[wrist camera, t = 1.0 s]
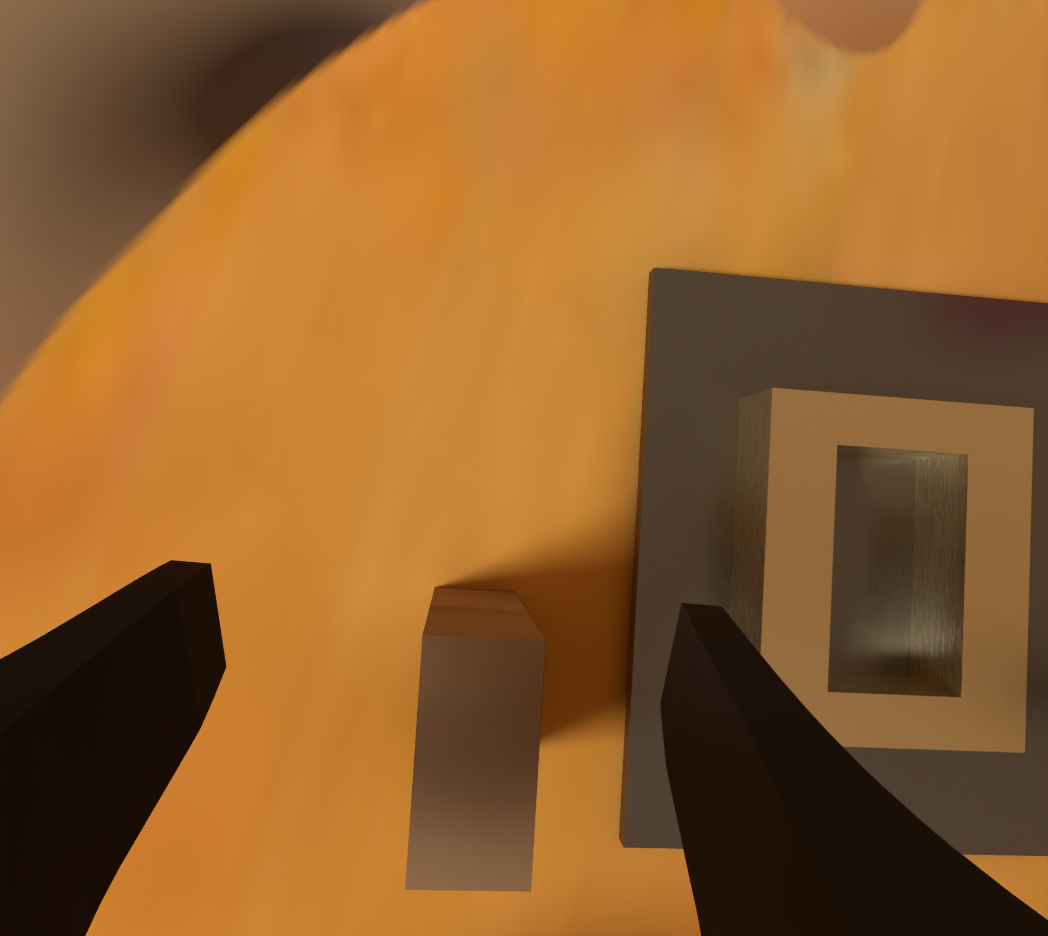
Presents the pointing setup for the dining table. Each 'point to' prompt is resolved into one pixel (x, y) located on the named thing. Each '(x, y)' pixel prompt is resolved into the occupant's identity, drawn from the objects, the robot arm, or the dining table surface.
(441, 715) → the thick wooden plank
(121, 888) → the dining table surface
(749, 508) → the grey framed slot plate
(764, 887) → the robot arm
